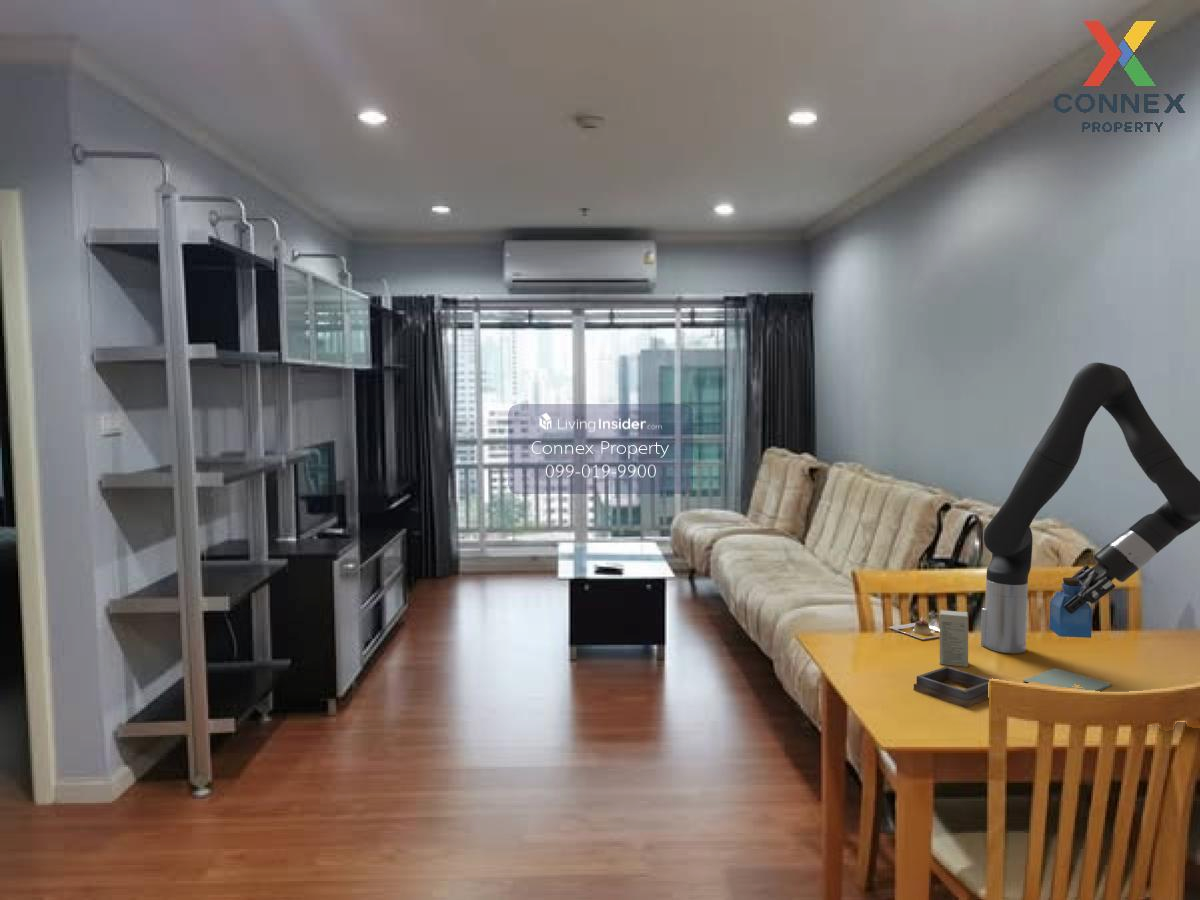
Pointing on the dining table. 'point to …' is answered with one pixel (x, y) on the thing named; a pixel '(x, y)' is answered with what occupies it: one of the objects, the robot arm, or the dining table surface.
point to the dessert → (918, 628)
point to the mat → (1068, 680)
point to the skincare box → (954, 638)
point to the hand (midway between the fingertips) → (1062, 606)
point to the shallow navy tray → (935, 687)
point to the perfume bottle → (1062, 619)
